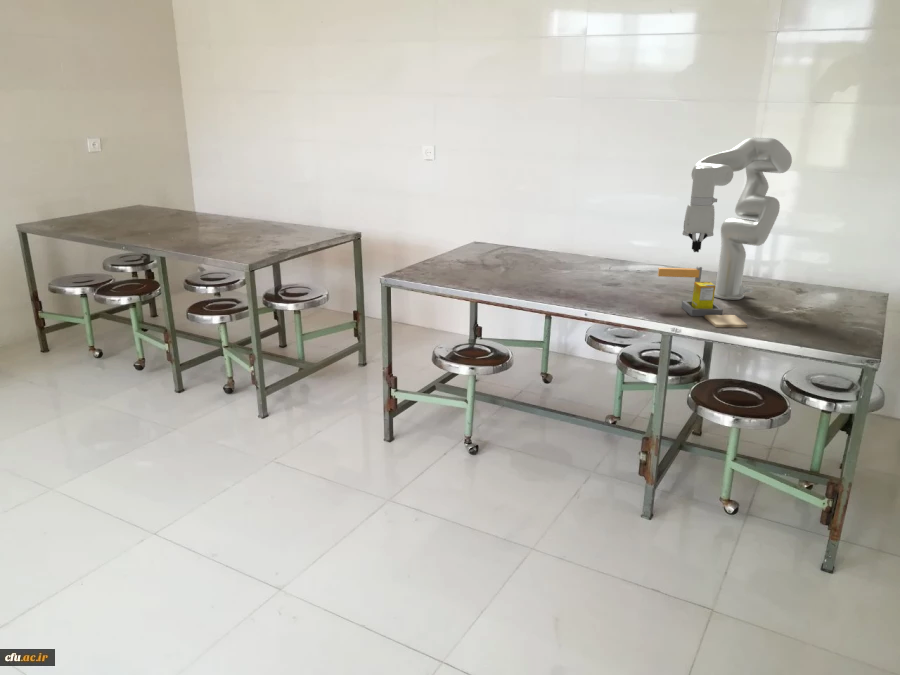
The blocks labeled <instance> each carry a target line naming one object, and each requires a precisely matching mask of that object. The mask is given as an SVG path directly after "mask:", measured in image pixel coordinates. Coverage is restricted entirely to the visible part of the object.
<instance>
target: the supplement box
mask: <svg viewBox="0 0 900 675" xmlns="http://www.w3.org/2000/svg"><path fill="white" fill-rule="evenodd" d="M715 288H716V284H714V283H712V282H711V281H700V282H695V281H694V283H693V290H692V291H693V292H692V298H691V299H692V300H691V301H692V307H693V308H694V309H713V302H714V299H715V297H714V293H715Z"/></svg>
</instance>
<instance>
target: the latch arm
mask: <svg viewBox="0 0 900 675" xmlns="http://www.w3.org/2000/svg"><path fill="white" fill-rule="evenodd" d="M702 269H703V267H702V266H696V267H695V268H691V267H690V268H689V267H686V268H685V267H657V276H658V277H664V278H665V277H666V278H668V277H669V278H670V277H671V278H694V282H701V279H702V271H703V270H702Z"/></svg>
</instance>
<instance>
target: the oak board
mask: <svg viewBox="0 0 900 675" xmlns="http://www.w3.org/2000/svg"><path fill="white" fill-rule="evenodd" d="M703 317H704V319H705V320H707V321H708V322H709V323H710V324H711V325H713V327H715V328H747V327H748V324H747V323H746V322H744V320H742V319H741V318H740V317H738V316H737V315H735V314H722V315H705V316H703Z"/></svg>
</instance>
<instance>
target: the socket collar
mask: <svg viewBox="0 0 900 675" xmlns="http://www.w3.org/2000/svg"><path fill="white" fill-rule="evenodd" d="M681 308H682V309H683V310H684V311H685V312H686V313H687V314H689V315H690V316H691V317H705V315H723V313H724V309H723V308H722V307H721V306H719V305H717V303H715V302H714V301H713V309H694V308H693V307H692V300H682V301H681Z"/></svg>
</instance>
